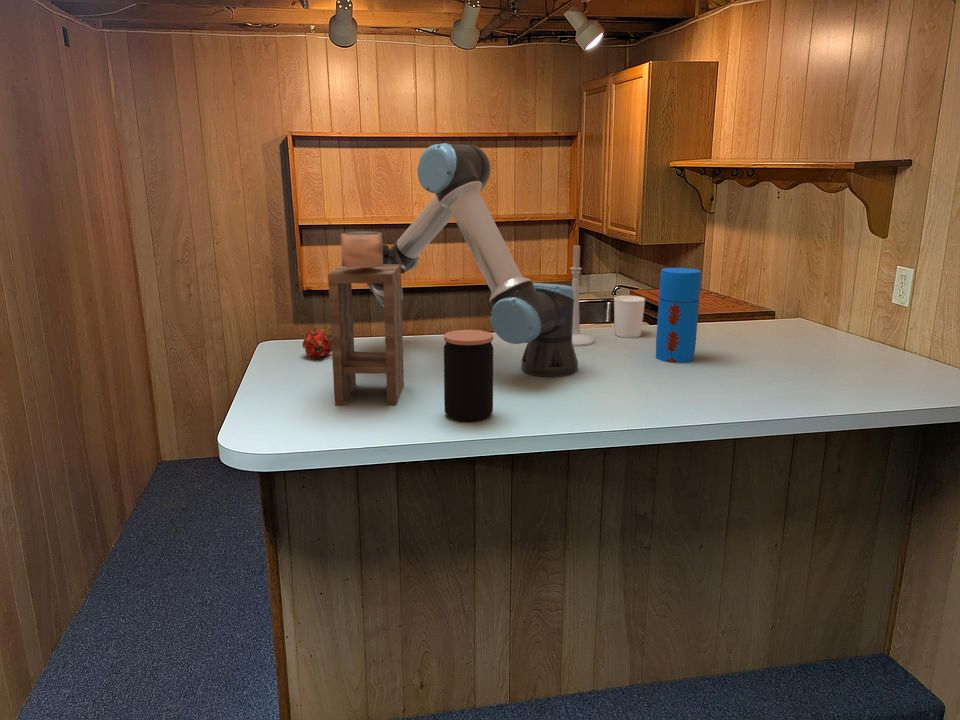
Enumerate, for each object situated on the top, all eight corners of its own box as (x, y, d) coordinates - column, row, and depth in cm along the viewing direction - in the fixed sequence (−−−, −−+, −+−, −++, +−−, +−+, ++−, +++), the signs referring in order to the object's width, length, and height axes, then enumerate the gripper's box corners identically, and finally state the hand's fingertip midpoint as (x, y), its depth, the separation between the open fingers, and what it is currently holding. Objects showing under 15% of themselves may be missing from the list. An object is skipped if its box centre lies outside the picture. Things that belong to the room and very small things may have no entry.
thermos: (652, 360, 203) (658, 271, 196) (658, 351, 212) (663, 266, 206) (692, 364, 199) (699, 274, 192) (696, 355, 208) (703, 269, 202)
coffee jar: (494, 407, 163) (495, 330, 159) (490, 424, 153) (491, 341, 148) (448, 406, 164) (447, 328, 160) (440, 422, 154) (439, 340, 150)
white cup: (624, 339, 227) (627, 302, 224) (605, 333, 235) (607, 297, 232) (649, 336, 231) (651, 299, 228) (629, 330, 240) (631, 294, 237)
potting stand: (347, 384, 180) (342, 264, 173) (403, 384, 180) (400, 264, 172) (334, 405, 165) (327, 274, 157) (396, 405, 165) (392, 274, 157)
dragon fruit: (321, 355, 213) (322, 372, 203) (296, 341, 210) (296, 357, 199) (337, 333, 212) (339, 349, 201) (312, 318, 208) (313, 333, 198)
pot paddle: (359, 253, 182) (357, 225, 180) (394, 253, 182) (393, 225, 180) (338, 268, 157) (336, 234, 155) (380, 267, 157) (378, 234, 155)
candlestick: (545, 342, 223) (547, 244, 215) (564, 334, 233) (568, 241, 226) (582, 348, 216) (586, 247, 208) (601, 340, 226) (605, 243, 219)
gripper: (413, 291, 193) (403, 256, 170) (352, 291, 193) (335, 256, 170) (413, 265, 194) (404, 227, 172) (354, 265, 195) (336, 227, 172)
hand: (369, 241), depth 171 cm, fingers closed on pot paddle, 3 cm apart
